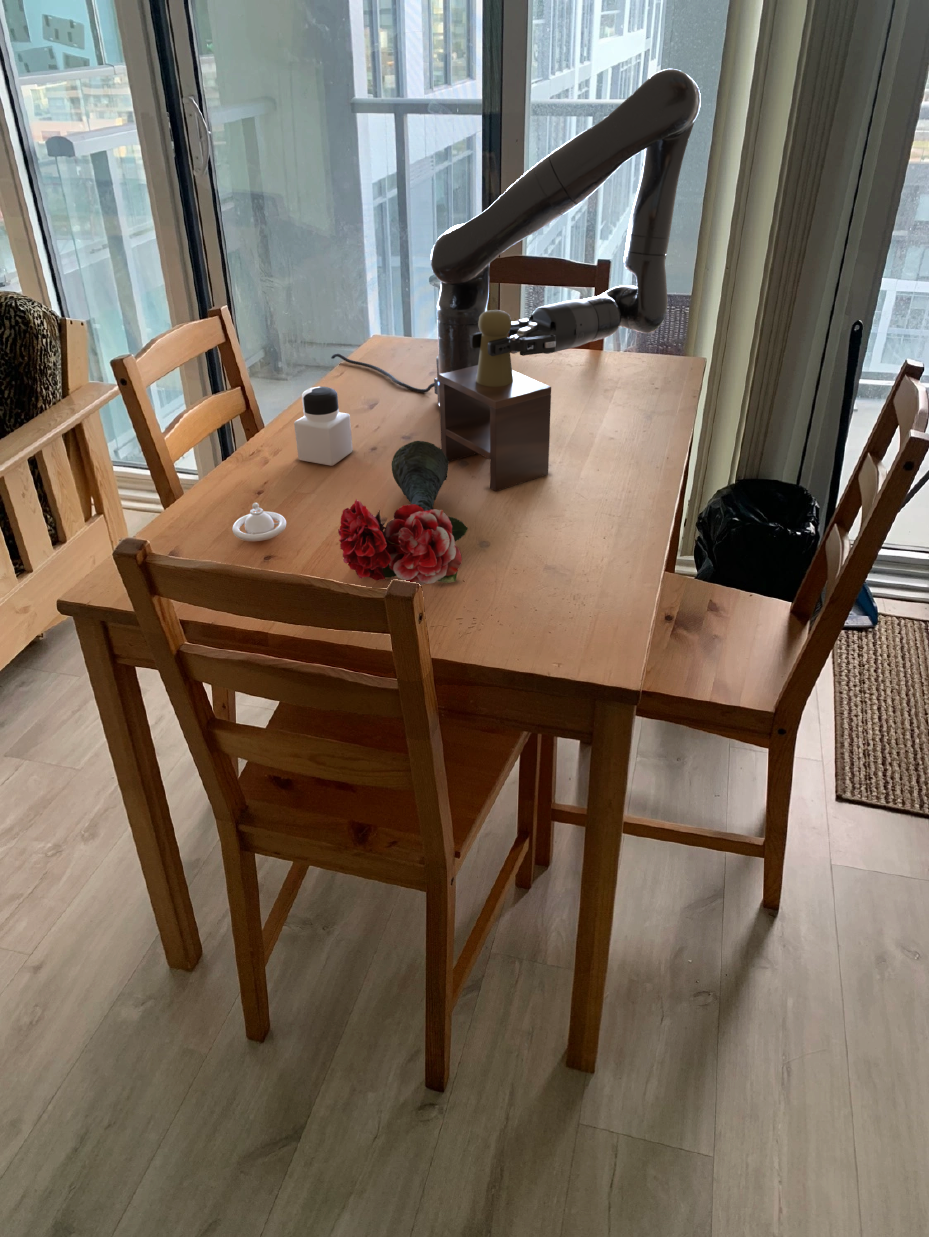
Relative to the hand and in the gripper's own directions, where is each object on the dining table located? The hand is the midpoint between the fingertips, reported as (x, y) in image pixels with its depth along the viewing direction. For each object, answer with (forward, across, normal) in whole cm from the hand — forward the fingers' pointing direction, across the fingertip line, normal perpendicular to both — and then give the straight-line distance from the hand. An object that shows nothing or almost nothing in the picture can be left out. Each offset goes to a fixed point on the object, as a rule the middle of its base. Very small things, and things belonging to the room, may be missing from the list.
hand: (480, 345), depth 147 cm
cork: (-3, 0, +6) cm, 7 cm away
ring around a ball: (+40, -1, +22) cm, 46 cm away
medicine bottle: (+18, -22, +22) cm, 36 cm away
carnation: (+24, +14, +22) cm, 35 cm away
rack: (-3, 0, +21) cm, 22 cm away
